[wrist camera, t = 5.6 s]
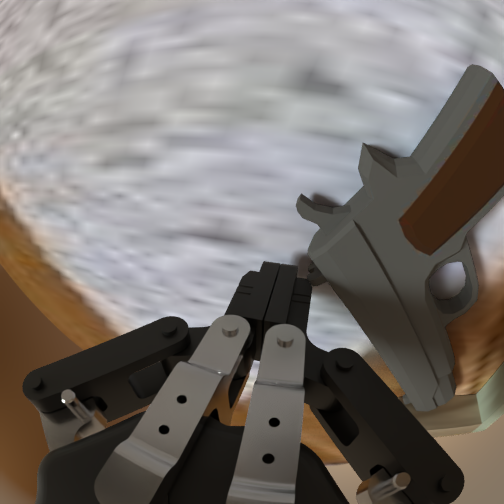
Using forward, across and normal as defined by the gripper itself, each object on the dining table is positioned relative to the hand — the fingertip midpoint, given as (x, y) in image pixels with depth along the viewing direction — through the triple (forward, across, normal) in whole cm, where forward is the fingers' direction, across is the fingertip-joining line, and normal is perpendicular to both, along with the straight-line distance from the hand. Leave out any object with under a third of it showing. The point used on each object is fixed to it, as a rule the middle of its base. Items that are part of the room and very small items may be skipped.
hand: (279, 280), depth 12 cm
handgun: (+2, -9, 0) cm, 9 cm away
